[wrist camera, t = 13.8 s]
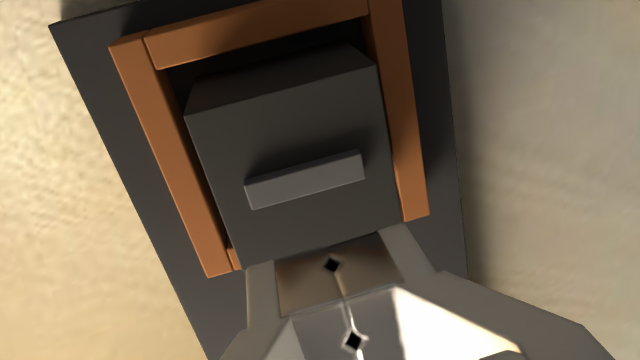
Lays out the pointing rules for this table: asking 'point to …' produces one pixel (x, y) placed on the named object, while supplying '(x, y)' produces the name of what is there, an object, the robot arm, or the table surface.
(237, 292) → the base pad
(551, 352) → the robot arm
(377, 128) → the black block
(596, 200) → the table surface
